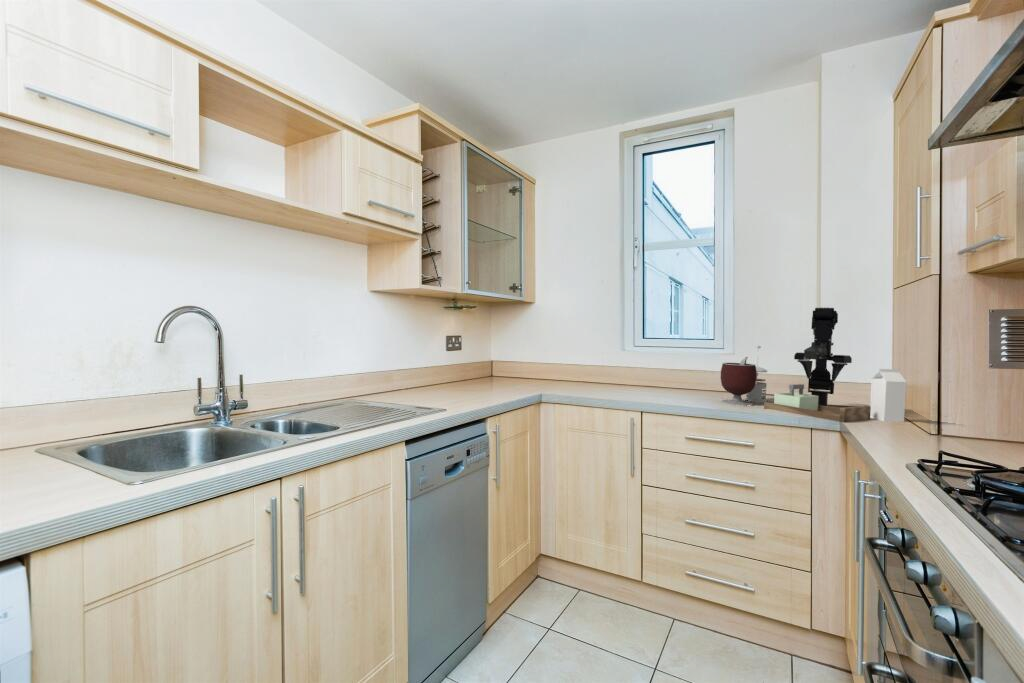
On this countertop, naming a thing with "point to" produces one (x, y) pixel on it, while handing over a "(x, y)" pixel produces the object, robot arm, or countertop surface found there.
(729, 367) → the mate gourd
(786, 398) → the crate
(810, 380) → the robot arm
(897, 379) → the milk carton
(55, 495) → the countertop surface
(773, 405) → the bay
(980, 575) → the countertop surface
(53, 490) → the countertop surface
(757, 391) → the french press
